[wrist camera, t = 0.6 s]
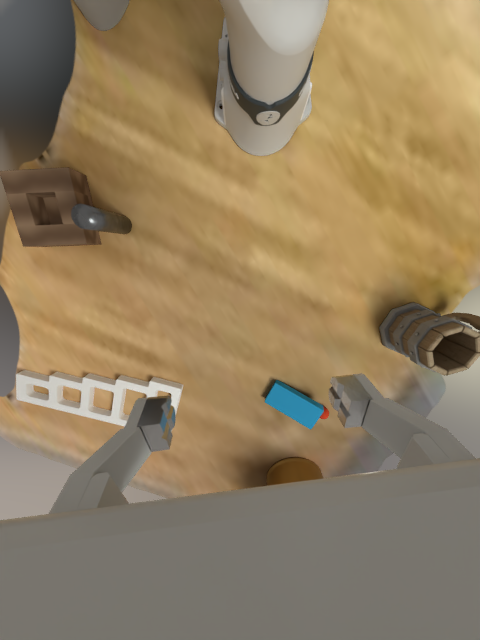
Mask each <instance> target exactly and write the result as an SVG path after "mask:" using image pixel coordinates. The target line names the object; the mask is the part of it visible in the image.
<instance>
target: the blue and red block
mask: <svg viewBox="0 0 480 640" xmlns="http://www.w3.org/2000/svg"><path fill="white" fill-rule="evenodd" d="M265 403H267V404H269V405H270V406H272V407H274V408H275V409H277V410H279V411H280V412H282V413H284V414H286V415H287V416H289V417H291V418H292V419H294V420H296V421H297V422H299V423H301V424H302V425H304V426H306V427H307V428H309V429H312V427H313V426H314V425H315V423H316V422H317V420H318V419H319V418H321V419H326V418H327V417H328V416H329V411H328V409H327V408H325V407H323V405H321V404H319V403H317V402H316V401H314V400H312V399H310V398H309V397H307V396H305V395H303V394H302V393H300V392H298V391H296V390H295V389H293V388H291V387H289V386H288V385H286V384H284V383H282V382H281V381H279V380H276V381H275V383H274V385H273V386H272V388H271V390H270V391H269V393H268V395H267V397H266V399H265Z"/></svg>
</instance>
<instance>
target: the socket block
mask: <svg viewBox="0 0 480 640" xmlns="http://www.w3.org/2000/svg"><path fill="white" fill-rule="evenodd" d="M0 176H1V179H2V182H3V185H4V189H5V192H6V195H7V198H8V201H9V204H10V207H11V210H12V213H13V216H14V219H15V222H16V225H17V229H18V232H19V235H20V238H21V241H22V244H23V246H29V247H49V246H74V245H98V244H101V241H100V236H99V231H95V230H88V229H82V228H79V227H78V226H77V225H76V224H75V223H74V222H73V220H72V217H71V210H72V208H73V207H74V206H75V205H76V204H85V205H88V206H92V207H93V204H92V200H91V195H90V190H89V186H88V181H87V177H86V175H83V174H81V173H79V172H77V171H75V170H73V169H71V168H69V167H68V168H49V169H30V170H13V171H0Z"/></svg>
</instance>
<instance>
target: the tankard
mask: <svg viewBox="0 0 480 640" xmlns="http://www.w3.org/2000/svg"><path fill="white" fill-rule="evenodd" d="M460 321H463V322H466V323H470V325H472V326H473V327H474V328H476V329H478V330H480V317H479V316H476V315H472V314H467V313H451V314H447V315H443V316H440V314H439V313H437V314H436V313H435V312H434V311H432V310H430V309H428V308H426V307H423V306H421V305H419V304H417V303H414V302H412V303H409V304H407V305H404V306H401V307H398V308H395V309H392V310H391V311H390V313H389V314H388V315H387V317H386V318H385V320H384V321H383V323H382V324H381V326H380V327H379V329H380V333H381V338H382V343H383V345H384V346H385V347H387V348H389V349H392V350H394V351H396V352H398V353H401V354H403V355H405V356H406V357H410V360H411V361H413V362H415V363H416V364H418V365H420V366H421V367H424V368H427V369H429V370H431V371H433V372H438V373H440V374H442V375H450V374H454V373H457V372H460V371H464V370H467V369H466V368H468V369H469V367H470V366H471V365H472V364H473V363H474V362H475V361H476V360H477V358H478V357H479V356H480V332H476V331H474V330H472V328H471V327H469V326H468V325H465V324H463V323H461V322H460Z"/></svg>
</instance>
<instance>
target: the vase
mask: <svg viewBox="0 0 480 640" xmlns="http://www.w3.org/2000/svg"><path fill="white" fill-rule="evenodd" d="M316 479H323V476H322V473H321V470H320V468H319V467H318V466H317V465H316V464H315V463H314V462H312V461H310V460H308V459H305V458H300V457H291V458H286V459H283V460H280V461H278V462H276V463H275V464H274V465H273V466H272V467H271V468H270V469H269V471H268V473H267V486H269V485H277V484H285V483H292V482H300V481H308V480H316Z"/></svg>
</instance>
